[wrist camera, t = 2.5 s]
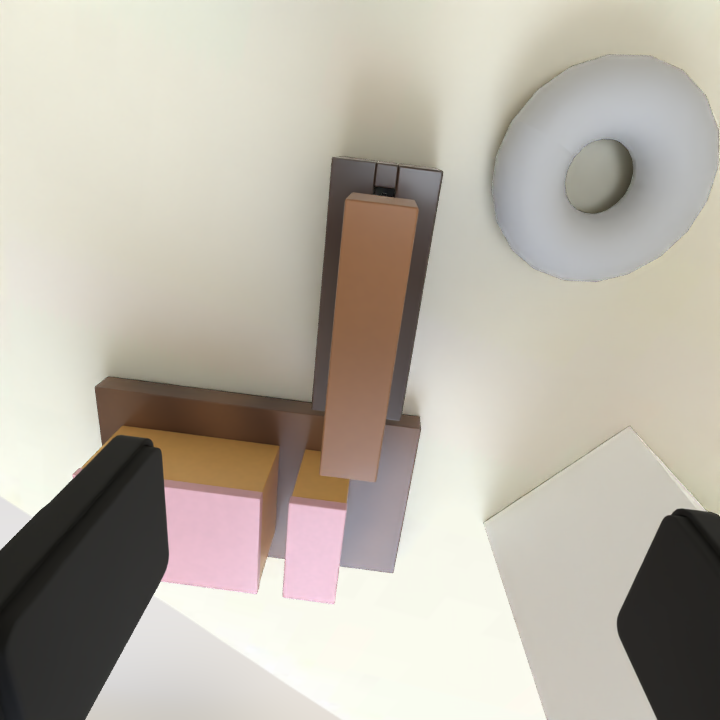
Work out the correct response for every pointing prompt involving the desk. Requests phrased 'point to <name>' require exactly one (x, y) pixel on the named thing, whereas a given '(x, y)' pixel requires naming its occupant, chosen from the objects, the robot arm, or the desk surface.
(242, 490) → the loaf cake
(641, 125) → the donut
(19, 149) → the desk surface
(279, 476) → the cutting board
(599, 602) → the milk
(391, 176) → the cutter stand
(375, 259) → the bar
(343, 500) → the cake slice
